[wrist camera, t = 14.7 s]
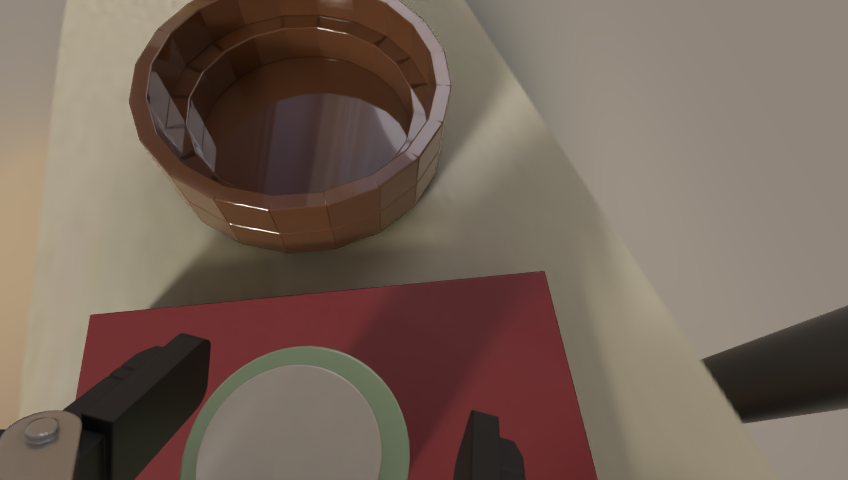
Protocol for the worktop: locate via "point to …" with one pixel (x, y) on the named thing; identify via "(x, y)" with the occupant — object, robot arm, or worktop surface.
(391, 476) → the pepper shaker
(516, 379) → the book
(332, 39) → the bowl
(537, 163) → the worktop surface
